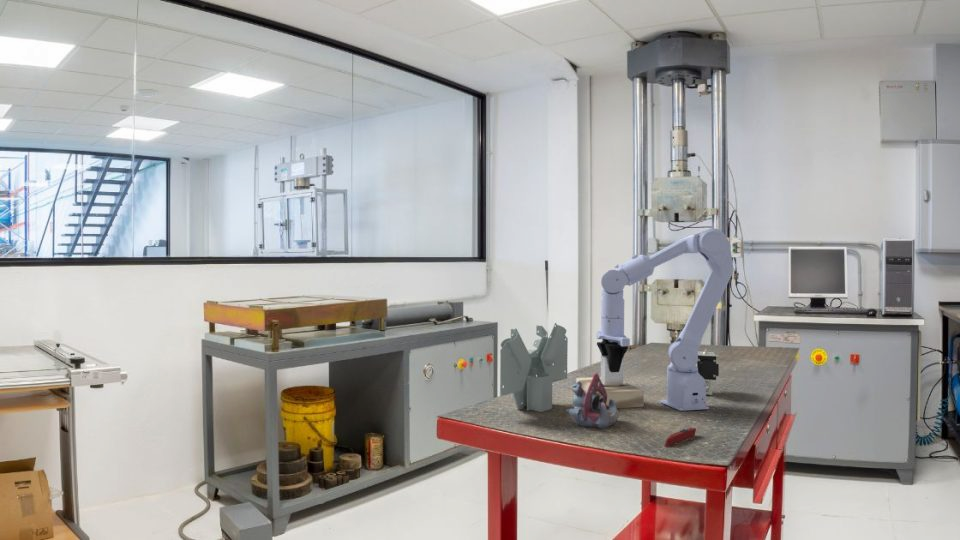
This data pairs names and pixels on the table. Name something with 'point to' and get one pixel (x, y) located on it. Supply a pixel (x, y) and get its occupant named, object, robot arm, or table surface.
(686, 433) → the utility knife
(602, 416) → the grey red figurine
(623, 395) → the light wood flat block
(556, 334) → the bracket
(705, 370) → the pneumatic valve
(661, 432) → the table surface
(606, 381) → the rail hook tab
